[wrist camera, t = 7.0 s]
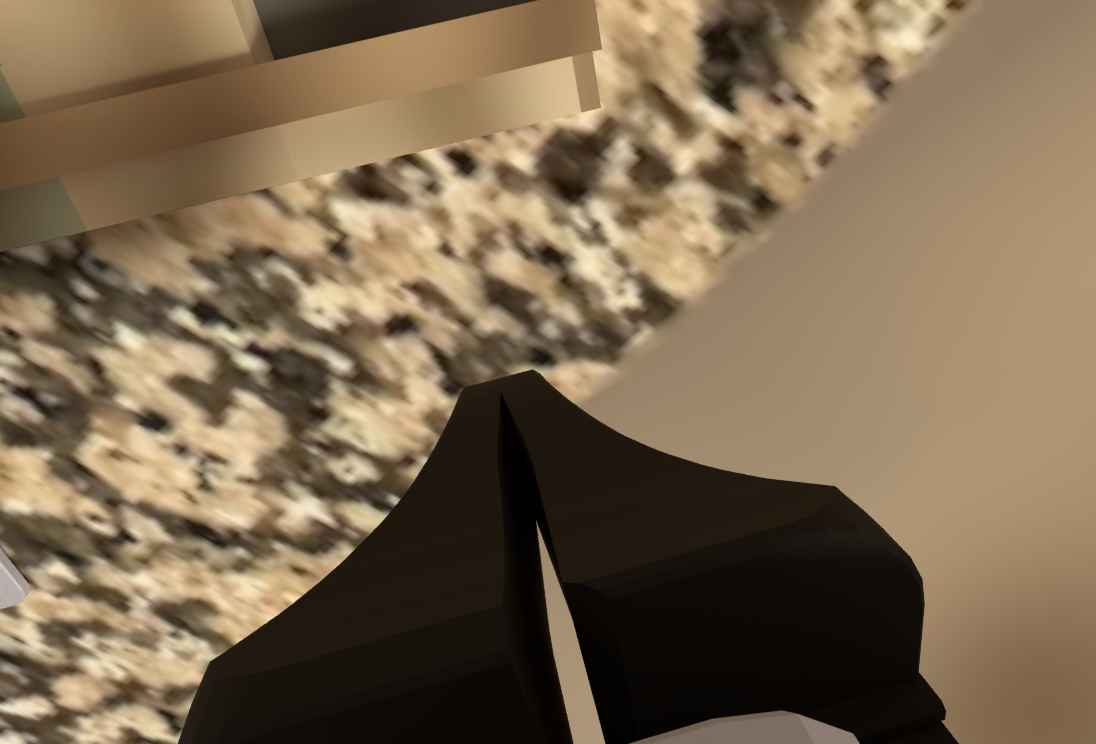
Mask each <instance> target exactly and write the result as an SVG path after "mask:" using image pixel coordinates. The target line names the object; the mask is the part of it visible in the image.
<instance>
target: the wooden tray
mask: <svg viewBox="0 0 1096 744" xmlns="http://www.w3.org/2000/svg"><path fill="white" fill-rule="evenodd" d="M600 49H602V46H601V40H600V33H599V26H598V20H597V13H596V6H595V0H0V64H1V66H0V252H3V251H7V250H11V249H15V248H20V247H24V246H28V245H32V244H36V243H40V242H45V241H49V240H53V239H57V238H61V237H65V236H70V235H74V234H78V233H82V232H86V231H90V230H95V229H99V228H103V227H107V226H111V225H115V224H119V223H124V222H128V221H132V220H136V219H140V218H144V217H149V216H153V215H157V214H161V213H165V212H169V211H174V210H178V209H182V208H186V207H190V206H194V205H198V204H203V203H207V202H211V201H215V200H219V199H223V198H228V197H232V196H236V195H240V194H244V193H248V192H253V191H257V190H261V189H265V188H269V187H273V186H278V185H282V184H286V183H290V182H294V181H298V180H302V179H307V178H311V177H315V176H319V175H323V174H327V173H332V172H336V171H340V170H344V169H348V168H352V167H357V166H361V165H365V164H369V163H373V162H377V161H381V160H386V159H390V158H394V157H398V156H402V155H406V154H411V153H415V152H419V151H423V150H427V149H431V148H436V147H440V146H444V145H448V144H452V143H456V142H461V141H465V140H469V139H473V138H477V137H481V136H485V135H490V134H494V133H498V132H502V131H506V130H510V129H515V128H519V127H523V126H527V125H531V124H535V123H540V122H544V121H548V120H552V119H556V118H560V117H564V116H569V115H573V114H577V113H581V112H585V111H589V110H594V109H598V108H601V105H600V99H599V92H598V86H597V79H596V73H595V67H594V60H593V54H592V51H596V50H600Z"/></svg>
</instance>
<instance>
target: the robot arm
mask: <svg viewBox="0 0 1096 744" xmlns="http://www.w3.org/2000/svg"><path fill="white" fill-rule="evenodd" d="M536 521H537V524H538V527H539V529H540V532H541V535H542V537H543V540H544V543H545V545H546V548H547V551H548V554H549V557H550V559H551V562H552V565H553V567H554V570H555V573H556V576H557V578H558V581H559V584H560V587H561V589H562V592H563V595H564V597H565V600H566V603H567V605H568V608H569V611H570V614H571V617H572V619H573V623H574V627H575V631H576V634H577V638H578V641H579V646H580V649H581V653H582V657H583V661H584V664H585V668H586V672H587V676H588V680H589V683H590V687H591V691H592V694H593V698H594V702H595V706H596V710H597V713H598V717H599V721H600V724H601V728H602V732H603V736H604V740H605V743H606V744H958V742H957V741H956V740H955V738H954V737H953V736H952V734H951V733H950V732H949V731H948V729H947V728H946V727H945V725H944V724H943V723H942V722H941V721H942V720H945V714H946V710H945V708H944V705H943V703H942V700H941V699H940V698H939V697H938V696H937V694H936V693H935V692H934V690H933V689H932V688H931V687H930V685H929V684H928V683H927V682H926V680H925V679H924V678H923V677H922V676H921V674H920V673H919V662H920V650H921V640H922V628H923V617H924V606H925V602H924V592H923V581H922V577H921V576H920V574H919V572H918V570H917V568H916V566H915V564H914V563H913V561H912V559H911V557H910V556H909V555H908V554H907V553H906V552H905V551H904V550H903V549H902V548H901V547H900V546H899V545H898V544H897V543H896V542H895V541H894V540H893V539H892V537H890V536H889V534H888V533H887V532H886V531H885V530H884V529H883V528H882V527H881V526H880V525H879V524H878V523H877V522H876V521H875V520H874V519H872V518H871V517H870V516H869V515H868V514H867V513H866V512H865V511H864V510H863V509H861V508H860V507H859V506H858V505H857V504H855V503H854V502H853V501H852V500H850V499H849V498H848V497H847V496H846V495H844V494H843V493H842V492H841V491H840V490H839V489H838V488H837V487H835V486H829V485H819V484H810V483H802V482H792V481H784V480H774V479H767V478H760V477H755V476H750V475H745V474H740V473H735V472H730V471H725V470H720V469H717V468H713V467H709V466H705V465H701V464H698V463H695V462H691V461H688V460H685V459H682V458H679V457H676V456H672V455H669V454H667V453H664V452H661V451H658V450H656V449H653V448H651V447H648V446H646V445H644V444H642V443H639V442H637V441H635V440H633V439H630V438H628V437H626V436H624V435H622V434H620V433H618V432H616V431H615V430H613V429H611V428H610V427H608V426H606V425H605V424H603V423H601V422H600V421H598V420H597V419H595V418H594V417H592V416H590V415H589V414H588V413H586V412H585V411H583V410H582V409H581V408H579V407H578V406H577V405H575V404H574V403H572V402H571V401H570V400H568V399H567V398H566V397H565V396H563V395H562V394H561V393H560V392H559V391H558V390H556V389H555V388H554V387H553V386H552V385H551V384H550V383H549V382H548V381H546V380H545V378H544V377H543V376H542V375H541V374H540V373H538V372H536V371H535V370H529V371H525V372H521V373H517V374H514V375H510V376H506V377H502V378H498V379H495V380H491V381H487V382H483V383H479V384H476V385H472V386H468V387H464V389H463V391H462V392H461V394H460V396H459V398H458V400H457V403H456V405H455V408H454V410H453V412H452V414H451V416H450V419H449V421H448V423H447V425H446V427H445V429H444V431H443V433H442V435H441V437H440V438H439V440H438V442H437V444H436V446H435V448H434V450H433V452H432V453H431V455H430V457H429V458H428V460H427V462H426V463H425V465H424V466H423V468H422V469H421V471H420V473H419V474H418V476H417V477H416V479H415V481H414V482H413V484H412V485H411V487H410V488H409V489H408V491H407V492H406V493H405V495H404V496H403V497H402V499H401V500H400V501H399V502H398V503H397V505H396V506H395V507H394V508H393V509H392V511H391V512H390V513H389V514H388V516H387V517H386V518H385V519H384V520H383V521H382V522H381V524H380V525H379V526H378V527H377V528H376V529H375V530H374V531H373V532H372V533H371V534H370V535H369V536H368V537H367V538H366V539H365V540H364V541H363V542H362V543H361V544H360V545H359V546H358V547H357V548H356V549H355V550H354V551H353V552H352V553H351V554H350V555H349V556H348V557H347V558H346V559H345V560H344V561H343V562H342V563H341V564H340V565H338V566H337V567H336V568H335V569H334V570H333V571H332V572H331V573H329V574H328V575H327V576H326V577H325V578H324V579H323V580H321V581H320V582H319V583H318V584H317V585H315V586H314V587H313V588H312V589H310V590H309V591H308V592H307V593H306V594H304V595H303V596H302V597H301V598H299V599H298V600H297V601H296V602H294V603H293V604H292V605H291V606H289V607H288V608H287V609H285V610H284V611H283V612H281V613H280V614H279V615H277V616H276V617H274V618H273V619H272V620H270V621H269V622H267V623H266V624H264V625H263V626H262V627H260V628H259V629H257V630H256V631H254V632H253V633H252V634H250V635H249V636H247V637H246V638H244V639H243V640H242V641H240V642H239V643H237V644H236V645H234V646H233V647H232V648H230V649H229V650H227V651H226V652H224V653H223V654H221V655H220V656H218V657H217V658H215V659H213V660H212V661H210V663H209V665H208V667H207V670H206V672H205V674H204V676H203V679H202V681H201V683H200V686H199V688H198V690H197V693H196V695H195V697H194V700H193V702H192V704H191V707H190V710H189V713H188V716H187V719H186V722H185V724H184V727H183V730H182V733H181V736H180V739H179V742H178V744H573V740H572V735H571V730H570V726H569V722H568V717H567V713H566V709H565V704H564V699H563V695H562V690H561V686H560V682H559V677H558V672H557V668H556V663H555V659H554V654H553V649H552V643H551V637H550V631H549V623H548V615H547V607H546V598H545V590H544V581H543V573H542V565H541V557H540V549H539V540H538V532H537V524H536ZM29 592H30V586H29V584H28V583H27V581H26V580H25V579H24V578H23V576H22V575H21V574H20V572H19V571H18V570H17V569H16V567H15V566H14V565H13V564H12V562H11V561H10V560H9V559H8V557H7V556H6V555H5V553H4V552H3V551H2V550H1V548H0V609H2V608H6V607H10V606H13V605H17V604H19V603H21V602H22V601H23V600H24V599H25V597H26V596H27V595H28V593H29Z"/></svg>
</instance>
